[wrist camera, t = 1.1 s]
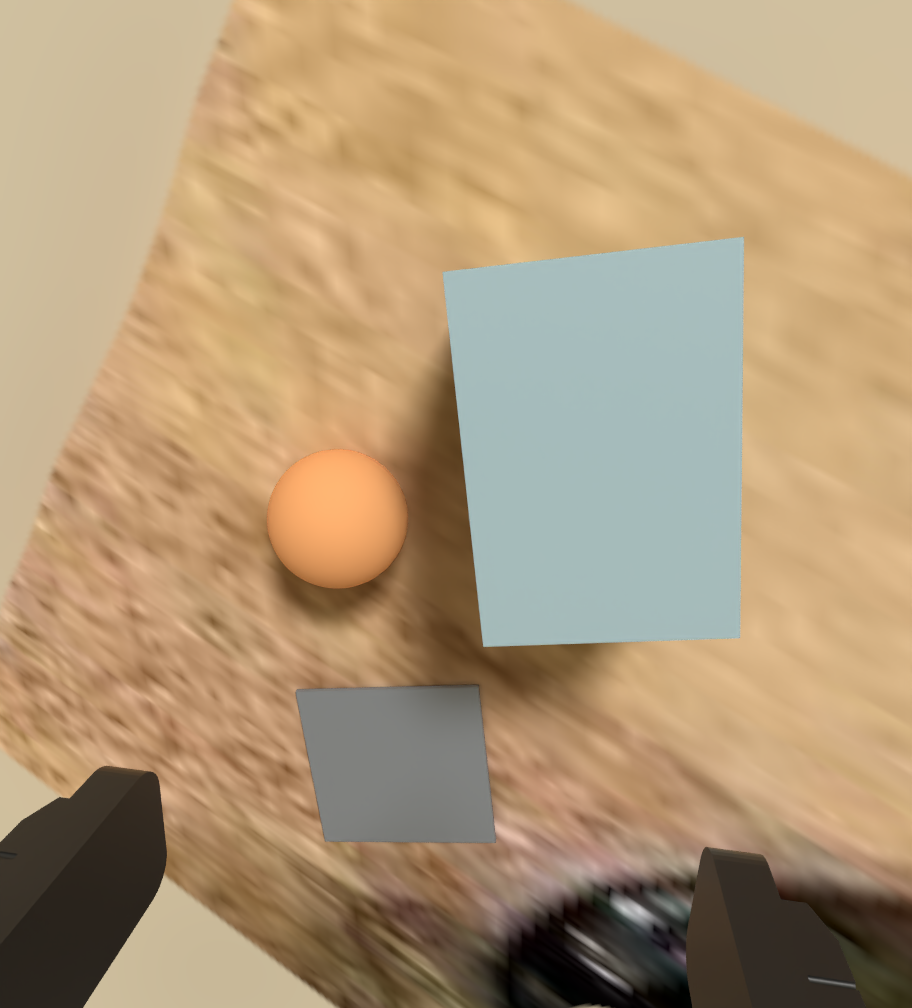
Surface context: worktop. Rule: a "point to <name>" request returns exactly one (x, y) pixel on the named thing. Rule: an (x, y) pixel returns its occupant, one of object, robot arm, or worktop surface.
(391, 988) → the worktop surface
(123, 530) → the worktop surface
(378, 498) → the ball
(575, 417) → the light blue block
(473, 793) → the plate
